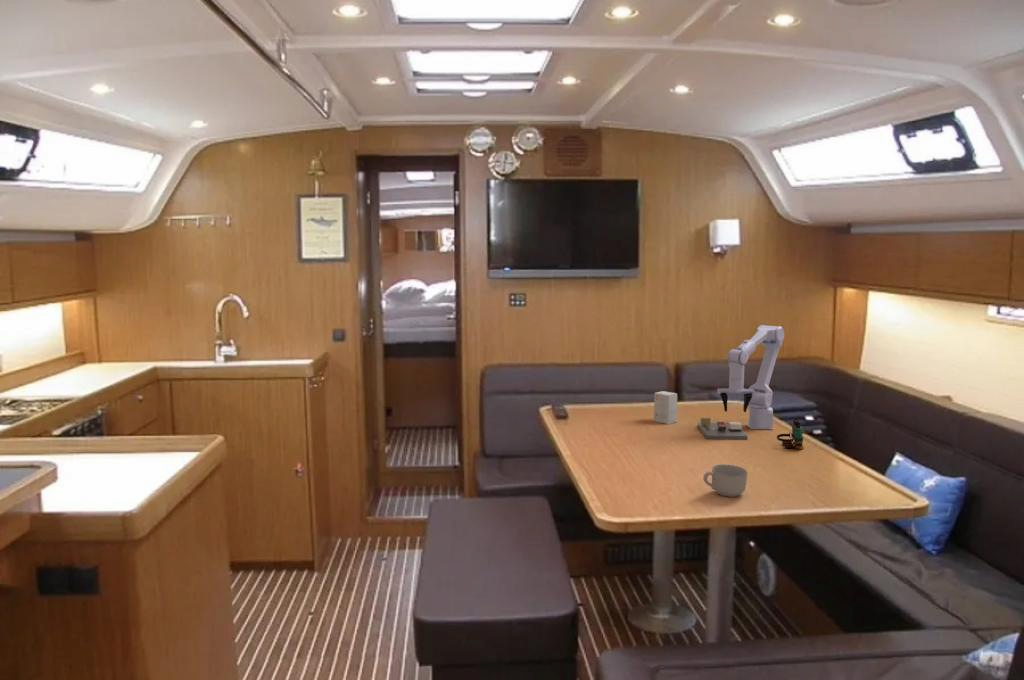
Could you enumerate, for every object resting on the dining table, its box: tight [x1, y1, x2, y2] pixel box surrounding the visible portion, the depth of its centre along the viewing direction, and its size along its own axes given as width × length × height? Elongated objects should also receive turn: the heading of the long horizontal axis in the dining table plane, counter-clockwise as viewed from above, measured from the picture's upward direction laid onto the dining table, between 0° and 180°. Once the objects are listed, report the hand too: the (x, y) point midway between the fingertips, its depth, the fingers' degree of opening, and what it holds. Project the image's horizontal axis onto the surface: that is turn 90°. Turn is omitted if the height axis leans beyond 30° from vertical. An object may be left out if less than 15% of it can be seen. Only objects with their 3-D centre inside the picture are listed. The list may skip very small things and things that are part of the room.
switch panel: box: [697, 422, 748, 441], centre depth 310 cm, size 16×22×2 cm
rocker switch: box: [716, 421, 726, 429], centre depth 308 cm, size 3×5×1 cm, turn 175°
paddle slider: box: [699, 416, 711, 425], centre depth 315 cm, size 4×2×3 cm, turn 85°
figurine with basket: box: [776, 418, 805, 450], centre depth 287 cm, size 9×11×10 cm
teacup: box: [703, 463, 748, 498], centre depth 233 cm, size 14×11×8 cm
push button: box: [728, 421, 743, 430], centre depth 307 cm, size 4×4×2 cm
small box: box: [653, 390, 678, 425], centre depth 329 cm, size 8×6×13 cm
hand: (735, 411), depth 307 cm, fingers open, 7 cm apart
